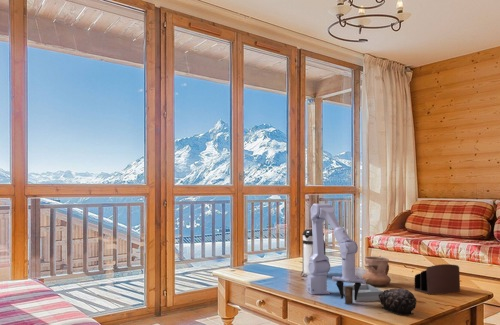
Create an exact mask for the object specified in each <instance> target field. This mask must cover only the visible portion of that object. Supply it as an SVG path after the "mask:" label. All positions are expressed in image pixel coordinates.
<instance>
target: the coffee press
mask: <svg viewBox="0 0 500 325" xmlns="http://www.w3.org/2000/svg"><path fill="white" fill-rule="evenodd" d="M310 227H311V228H306V229H304V230H303V231H302V233H301V234H302V271H301V274H300V276H301V277H304V276H305V275H307V276H308V275H311V273H310V271H309V268H308V265H309V258H310V257H311V256H312V255H313V254H314V252H313V235H312V225H310ZM324 238H325V233H324V232H323V239H324ZM324 254H325V255H326V242H325V239H324ZM317 261H321V260H317ZM302 274H303V275H302Z"/></svg>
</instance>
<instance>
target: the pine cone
mask: <svg viewBox="0 0 500 325" xmlns="http://www.w3.org/2000/svg"><path fill="white" fill-rule="evenodd" d="M379 299H380V300H379V301H380V304H381V305H382V306H381V309H382V310H384V311H387V312H389V313H392V314H396V315H400V316H412V315H415V313H414V312H413V311H414V310H415V309H416V308H417V298H416V296H415V294H414V293H412V291H410V290H408V289H405V288H402V287H401V288H391V289H385V290H383V293H380V294H379Z"/></svg>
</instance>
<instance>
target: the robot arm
mask: <svg viewBox="0 0 500 325" xmlns="http://www.w3.org/2000/svg"><path fill="white" fill-rule="evenodd" d="M310 220H311V226H312V227H311V229H312V235H313V252H314V254H313V255H312V256H311V257H310V258H309V265H308V268H309V271H310V273H311V275H307V276H306V291H307V292H308V293H309V295H330V293H331V292H329V291H328V285H327V284H328V282H327V281H328V276H327V275H328V274H329V272H330V271H331V264H330V260H329V256H327V255H326V253H325V254H324V241H325V239H323V233H324V227H323V226H324V225H323V223H324V221H325V220H326V221H327V223H328V224H329V226H330V227H331V228H332V230H333V234H332V235H333V236H334V238H335V240H336V241H337V244H338V245H339V247H338V251H339V252H340V258H341V271H342V272H341V276H334V275H333V276H332V277H331V281H332V282H334V283H335V282H336V284H335V285H336V287H337V289H338V291H339V294H340V298H341V300H343V299H344V297H345V295H343V286H344V283H350V284H354V291H355V295H354V300H357V294H358V291H359V288H360V286H361V285H367V283H366V279H363V278H358V277H356V254H357V252H358V250H359V249H358V244H357V242H356V241H355V240H353V239H352V238H351V237H350V236H349V234H348V232H347V231H346V229H345V228H344V227H341V225H340V223H339V221H338V218H337V217H336V215H335V208H334V207H333V205H332V203H331V202H328V203H313V204H312V205H311V207H310ZM317 260H321V261H317Z"/></svg>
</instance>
